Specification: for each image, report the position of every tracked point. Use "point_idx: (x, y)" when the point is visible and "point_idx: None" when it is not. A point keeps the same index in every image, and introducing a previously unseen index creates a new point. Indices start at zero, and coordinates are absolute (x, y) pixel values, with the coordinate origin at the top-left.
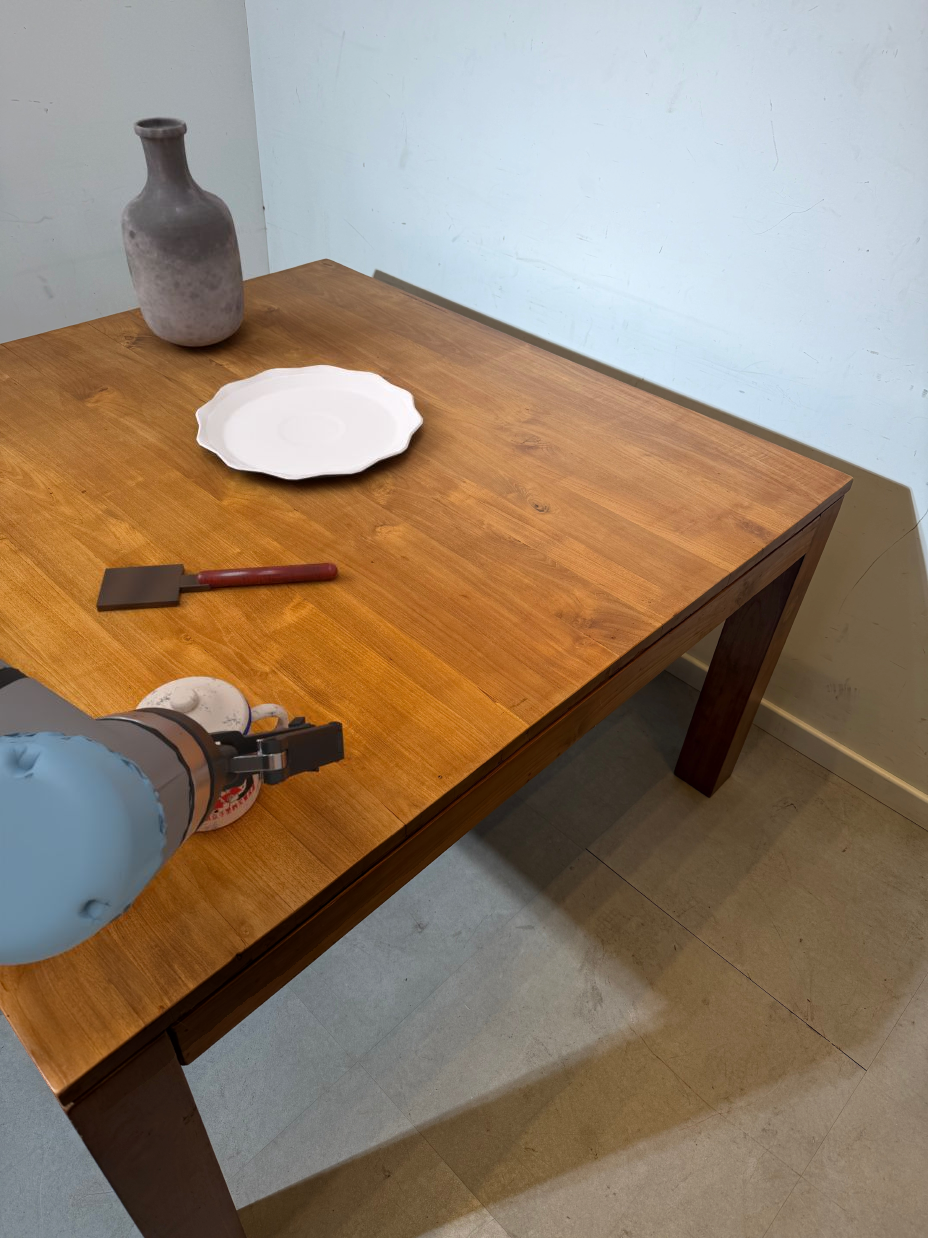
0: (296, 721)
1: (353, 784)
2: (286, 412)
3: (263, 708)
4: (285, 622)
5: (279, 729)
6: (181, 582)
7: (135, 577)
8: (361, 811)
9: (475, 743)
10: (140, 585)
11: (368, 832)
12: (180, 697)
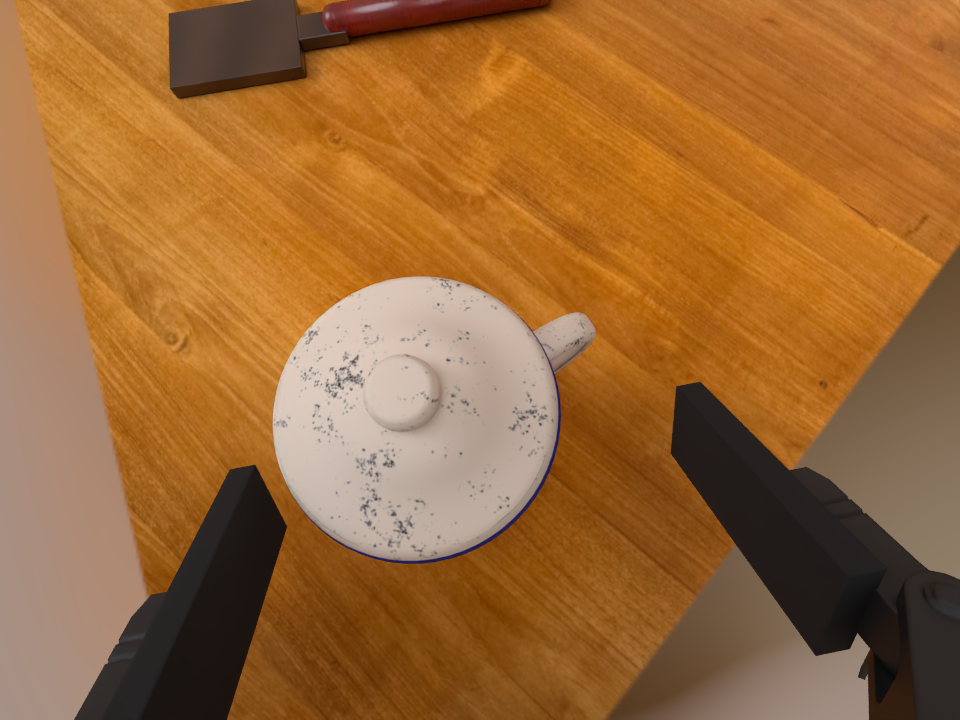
0: (794, 493)
1: None
2: None
3: (559, 334)
4: (487, 95)
5: (925, 706)
6: (299, 30)
7: (221, 27)
8: None
9: (865, 312)
10: (233, 42)
11: None
12: (394, 399)
